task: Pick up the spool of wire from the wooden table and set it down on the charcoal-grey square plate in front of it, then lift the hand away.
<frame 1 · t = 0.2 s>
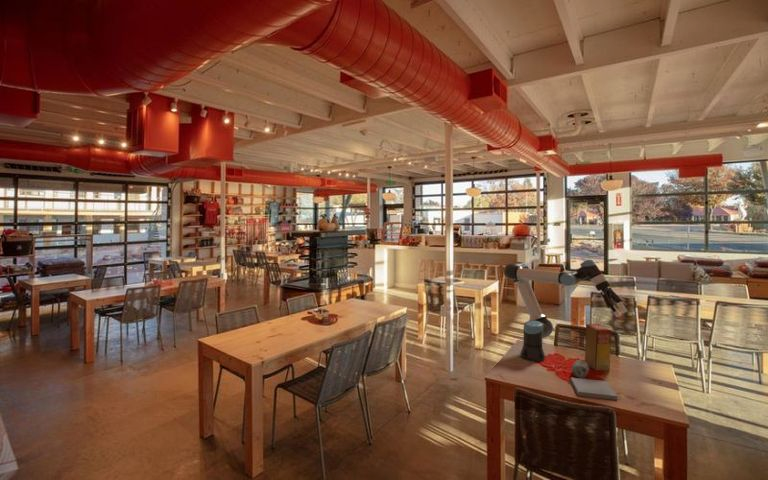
hand: (622, 314, 220), 35 cm above the table, fingers open, 13 cm apart
spool: (580, 375, 219), on the table
plate: (592, 389, 200), on the table
food packaging: (596, 366, 232), on the table
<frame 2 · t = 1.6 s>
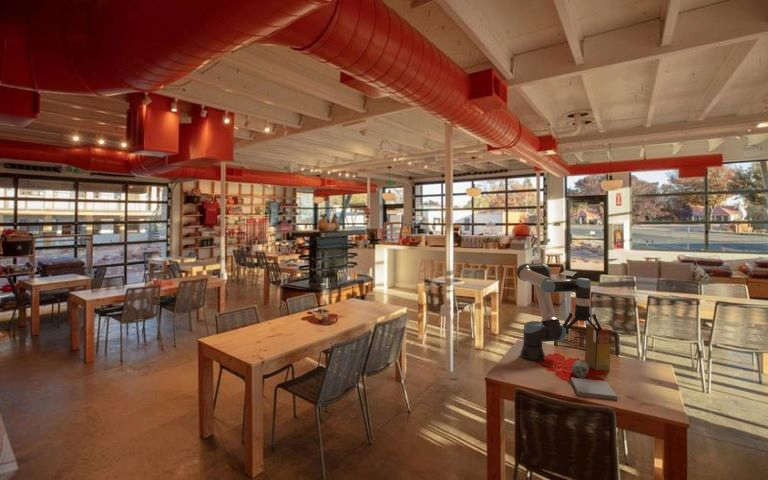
hand: (581, 340, 218), 21 cm above the table, fingers open, 13 cm apart
nothing on the table moved.
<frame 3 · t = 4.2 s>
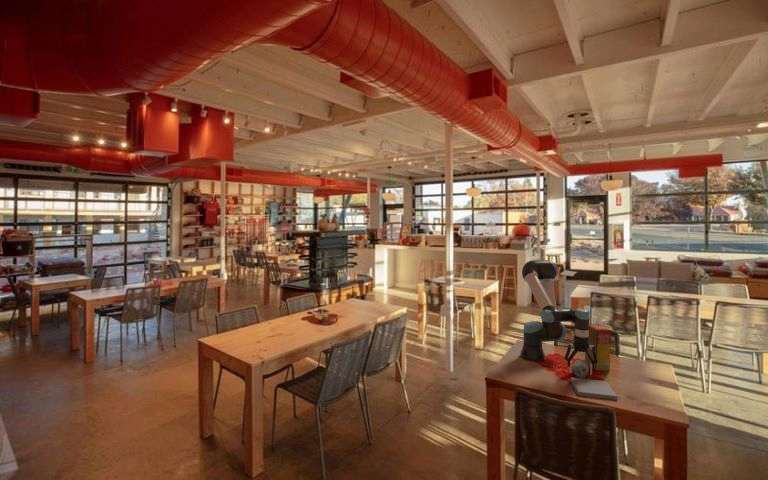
hand: (580, 373, 219), 1 cm above the table, fingers closed on spool, 10 cm apart
spool: (580, 375, 219), on the table, touching gripper
everything else where it was.
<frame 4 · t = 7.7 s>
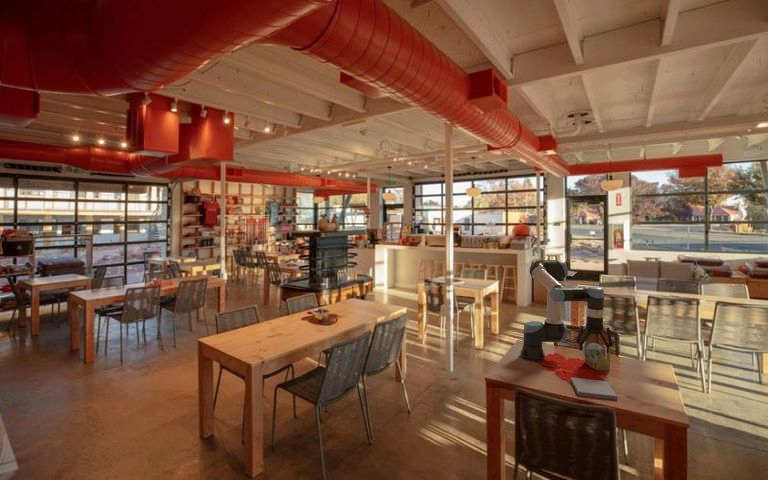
hand: (593, 357, 199), 18 cm above the table, fingers closed on spool, 10 cm apart
spool: (593, 359, 199), point 16 cm above the table, touching gripper
everything else where it was.
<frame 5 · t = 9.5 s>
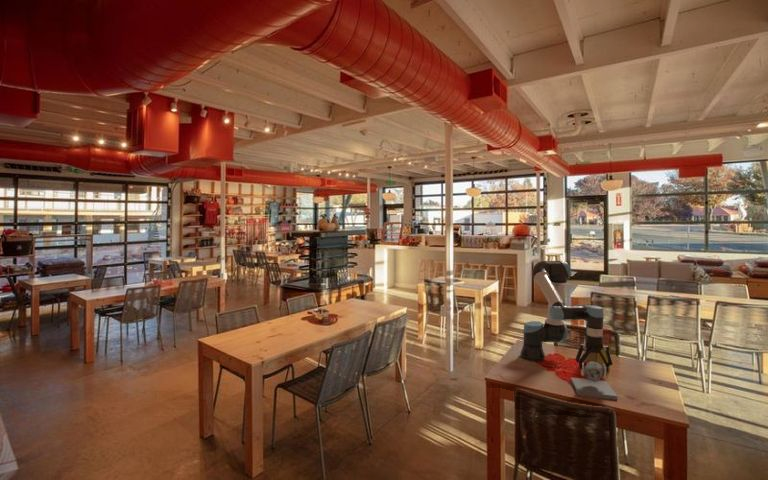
hand: (593, 376, 199), 8 cm above the table, fingers closed on spool, 10 cm apart
spool: (593, 378, 200), point 6 cm above the table, touching gripper
everything else where it was.
when the fingers open (5 cm above the table, at t = 11.0 s): spool drops 2 cm, resting on plate.
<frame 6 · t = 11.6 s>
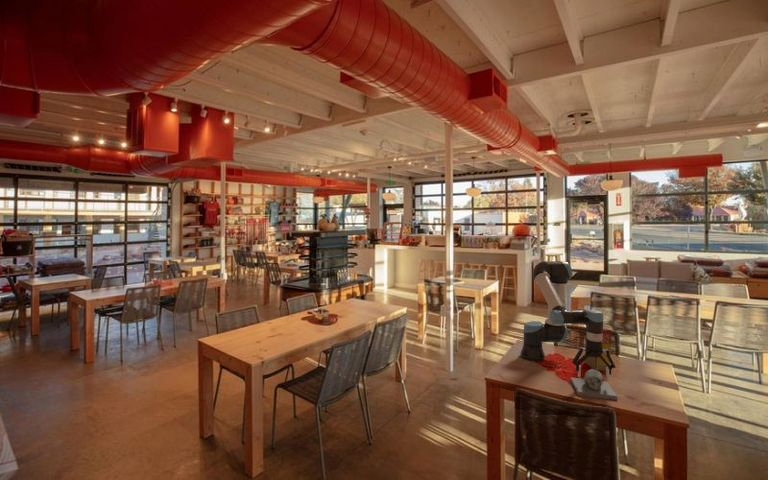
hand: (593, 378, 200), 6 cm above the table, fingers open, 13 cm apart
spool: (593, 386, 200), point 2 cm above the table, touching plate
everything else where it was.
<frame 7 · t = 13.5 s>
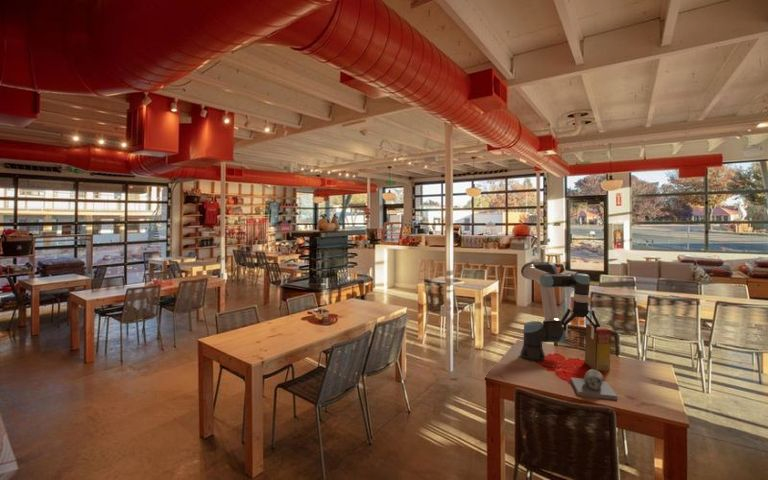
hand: (579, 337, 214), 24 cm above the table, fingers open, 13 cm apart
nothing on the table moved.
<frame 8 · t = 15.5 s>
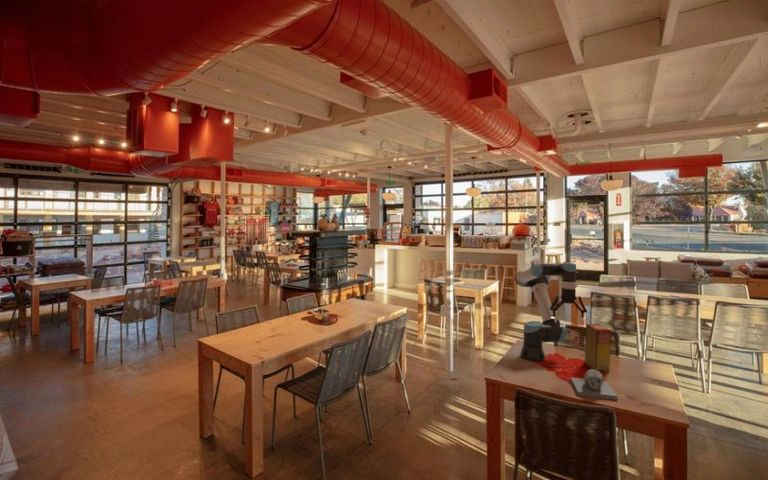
hand: (567, 322, 226), 29 cm above the table, fingers open, 13 cm apart
nothing on the table moved.
at the end: spool inside the target area on the plate (0.2 cm from its centre), point 1.8 cm above the plate's base; spool tilted 2°; the gripper is holding nothing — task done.
